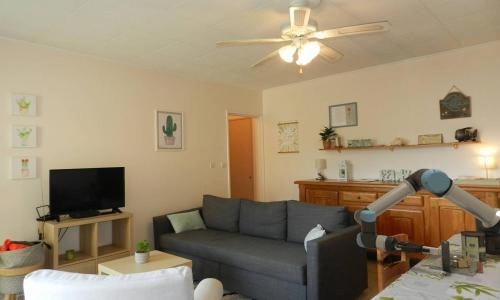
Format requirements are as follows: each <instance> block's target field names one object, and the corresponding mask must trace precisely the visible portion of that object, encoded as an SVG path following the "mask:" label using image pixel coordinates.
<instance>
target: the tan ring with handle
mask: <svg viewBox="0 0 500 300" xmlns="http://www.w3.org/2000/svg"><path fill="white" fill-rule="evenodd" d="M440 244H441V246H440V248H441V256H440V257H441V263H442V272H444V273H452V272H451V270H452V269H453V268H454V267H459V268H460V267H469V266H470V265H471V261H470V259H469V258H468V256H466V255H465V256H462V255H460V256H461V258H460V259H458V260H451V259H450V255H451V254H452V253H451V252H450V249H451V248H450V241H448V240H441V241H440Z"/></svg>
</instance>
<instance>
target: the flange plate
mask: <svg viewBox="0 0 500 300" xmlns="http://www.w3.org/2000/svg"><path fill="white" fill-rule="evenodd" d="M461 256H462V255H459V254H453V253H451V255H450V259H451V260H458V259H460V258H461ZM428 269H431V270H437V271H442V263H441V256H439V257H438V258H436V259H435V260H434V261H432V262H431V263H430V264H428ZM442 272H443V271H442ZM450 273H452V274H457V275H463V276H468V277H474V276H475V275H476V274H477V273H478V274H479V273H480V274H483V273H484V264H483V262H479V261H477V262H472V261H471V265H470V266H469V267H460V268H459V267H454V268H453V269H452V270H451V272H450Z"/></svg>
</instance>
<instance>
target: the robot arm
mask: <svg viewBox="0 0 500 300" xmlns="http://www.w3.org/2000/svg"><path fill="white" fill-rule="evenodd" d="M421 191H427V192H428V193H430V194H432V195H433V196H435V197H437V198H438V199H440V198H443V199H445V200H447V201H448V202H450V203H451V204H453V205H455V206H457V207H458V208H460V210H463V211H464V212H466V213H467V214H469V215H471V216H472V217H474V222H475V223H474V224H475V231H477V232H482V233H484V234H485V251H486V255H487V254H489V255H500V208H498V207H494V208H492V207H491V206H490V205H488V204H486V203H485V202H483V201H481V200H480V199H478V198H477V197H475V196H473V195H472V194H470V193H469V192H468V191H465V190H464V189H463V188H461V187H459V186H458V185H456V184H455V183H454V180H453V179H452V178H450V177H449V175H448V174H447V173H446V172H444V171H442V170H440V169H437V168H420V169H417V170H416V171H414V172H412V173H411V174H409V175H408V176H407V177H405V178H404V179H403V180H402V182H401V183H400V184H398V185H397V186H395V187H394V188H392V189H391V190H389V191H388V192H387V193H384V194H383V195H381V196H380V197H378V198H377V199H375V200H374V201H373V202H371V203H369V204H368V205H367V206H365V207H363V208H361V209H357V210H356V211H355V212H354V214H353V217H354V220H355V222H356V223H357V224H359V225H360V229H361V230H360V231H361V232H358V234H357V236H356V243H357V246H359V247H361V248H365V249H370V250H376V251H377V249H380V250H379V251H381V250H382V251H383V252H388V253H393V254H394V253H396V252H399V253H401V252H402V253H403V252H404V253H410V254H411V253H412V254H413V253H414V254H420V255H423V254H427V255H435V256H439V255H440V249H439V248H438V247H437V248H436V247H431V246H425V244H420V243H415V242H410V241H408V240H406V241H402V240H400V241H398V239H397V238H396V237H395V236H390V235H389V236H387V235H381V234H377V217H378V216H380V215H382V214H383V213H384V212H386V211H387V210H389V209H391V208H393V206H395V205H397V204H398V203H399V202H401V201H403V200H404V199H406V198H407V197H409V196H410V195H412V194H413V195H415V194H417V193H419V192H421ZM378 247H379V248H378ZM382 251H381V252H382Z"/></svg>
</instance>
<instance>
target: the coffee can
mask: <svg viewBox="0 0 500 300" xmlns="http://www.w3.org/2000/svg"><path fill="white" fill-rule="evenodd" d="M460 240H461V241H460V242H461V256H465V255H466V256H468V258H469V259H470V261H472V262H477V261H479V262H483V265H484V264H486V263H487V254H486V251H485V234H484V233H482V232H477V231H476V230H462V231H460Z"/></svg>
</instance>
